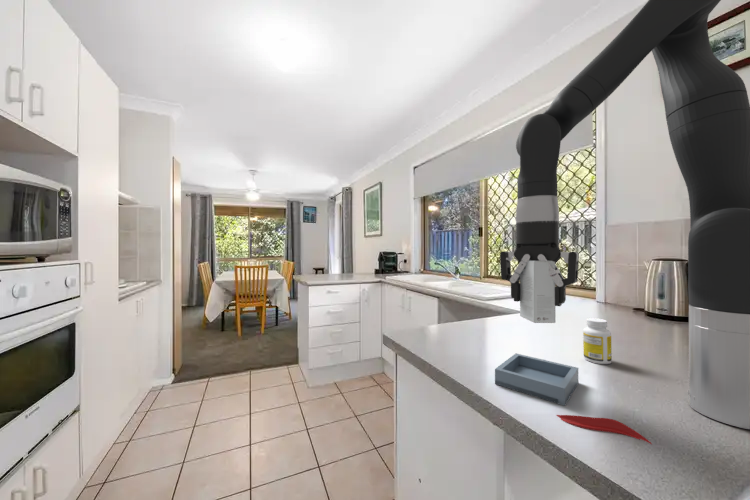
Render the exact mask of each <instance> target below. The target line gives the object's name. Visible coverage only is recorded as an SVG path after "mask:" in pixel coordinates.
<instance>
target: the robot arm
mask: <svg viewBox="0 0 750 500" xmlns="http://www.w3.org/2000/svg"><path fill="white" fill-rule="evenodd" d="M721 1H722V0H647V2H645V4H644V5H643V6H642V8H641V9H640V10H639V11H638V12H637V13H636V15H635V16H634V17H633V18H632V19H631V20H630V21H629V22H628V23H627V25H626V26H625V27H624V28H623V29H622V30H621V31H620V32H619V33H618V34H617V35H616V36H615V37H614V38H613V39H612V40H611V41H610V42H609V43H608V44H607V45H606V46H605V48H603V50H602V51H601V52H599V53H598V54H597V55H596V56H595V58H593V59H592V60H591V61H590V62H589V63H588V64H587V65H586V66H584V68H583V69H582V70H581V71H580V72H579V73H578V74H577V75H576V76H575V77H573V79H572V80H570V81H569V82H568V83H567V84H566V85H565V86H564V87H563V89H561V90H560V92H559V93H557V94H556V96H555V97H554V98H553V100H552V102H551V103H550V104H549V106H548V107H547V108H546V109H545V110H544V111H543V113H539V114H535V115H533V116H531V117H530V118H528V119H527V120H526V121H525V122H524V123H523V124H522V125H521V127H520V130H519V132H518V136H517V139H516V141H515V142H516V143H515V148H516V149H515V150H516V152H517V154H518V156H519V173H518V178H517V184H516V185H517V186H516V187H517V202H516V209H515V241H516V242H515V246H516V247H515V249H514V251H500V253H499V256H500V257H499V259H500V260H499V261H500V278H501V280H504V281H508V282H509V283H510V296H511V299H513V301H514V302H517V303H518V302H520V275H521V274H522V273H523V270H524V269H525V267H526V265H527V263H528V261H530V260H531V261H554V262H555V269H554V268H553V267H552V266H551V264H550V263H549V262H548V263H549V269H550V270H549V276H552V277H553V280H554V282H555V307H561V306H562V304H565V302H566V301H567V299H566V298H567V297H566V295H567V294H566V293H567V291H566V290H567V286H569V285H573V284H575V283H577V282H578V276H579V275H578V273H579V262H580V261H579V260H580V259H579V257H580V254H579V252H578V251H562V250H561V248H560V205H559V201H558V200H559V199H558V164H559V159H560V157H559V156H560V153H561V152H560V151H561V141H563V140H564V138H565V137H566V136H567V135H568V134H569V133H570V132H572V130H573V129H574V128H575V127H576V126H578V124H579V123H581V122H582V121H583V120H585V118H587V117H588V116H590V115H591V114H592V113H593V112H594V110H596V109H597V108H598V107H599V106H600V105H601V104H602V103H604V102H605V101H606V100H607V99H608V98H609V97H610V96H611V95H612V94H613V93H614V92H615V91H616V90H617V88H619V87H620V85H621V84H622V83H624V81H626V79H627V78H628V77H629V76H630V75H631V74H632V73H633V71H634V70H635V69H636V68H637V67H638V66H639V65H640V63H641V62H643V61H644V60H645V58H646V57H647V56H648V55H649V54H650V53H652V56H653V58H654V60H655V64H656V66H657V71H658V75H659V83H660V88H661V94H662V100H663V105H664V112H665V113H664V114H665V119H666V124H667V125H666V127H667V131H668V135H669V136H668V137H669V141H670V144H671V147H672V150H673V153H674V157H675V160H676V163H677V166H678V168H679V171H680V173H681V176H682V177H683V180H684V183H685V186H686V190H687V195H688V201H689V217H690V218H689V220H690V228H689V229H690V231H689V232H688V236H687V237H688V239H687V252H688V253H687V255H688V256H687V258H688V259H687V265H688V267H687V268H688V269H687V271H688V277H687V279H688V280H687V285H688V286H687V287H688V288H687V289H688V392H687V393H688V404H689V406H690V408H692V409H693V410H695V411H696V412H697V413H700V414H701V415H703V416H705V417H708V418H710V419H712V420H715V421H718V422H720V423H723V424H727V425H730V426H733V427H737V428H740V429H746V430H750V99H749V95H748V89H747V87H746V84H745V82H744V79H742V77H741V76H740V75H739V74H738V73H737V72H736V71H735V70H734V69H733V68H731V67H729V66H728V65H727V64H726V63H724V62H722V61H721V60H720V59H719V58H717V56H715V54H714V52H713V50H712V46H711V43H710V37H709V28H708V20H709V19H708V18H709V16H710V14H711V13H712V12H713V11H714V9H715V8H716V6H718V4H719V3H720V2H721ZM514 257H515V259H516V260H517V262H518V265H517V266H516V268H515V269H514V272H513V274H512V270H511V269H512V268H511V266H512V265H511V262H512V261H513V260H514ZM561 258H563V261H564V263H566V264H567V273H566V274H567V275H566V278H564V276H563V275H562V273H561V271H560V269H559V268H558V266H557V265H556V264H557V263H558V261H559V260H560V259H561Z"/></svg>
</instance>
